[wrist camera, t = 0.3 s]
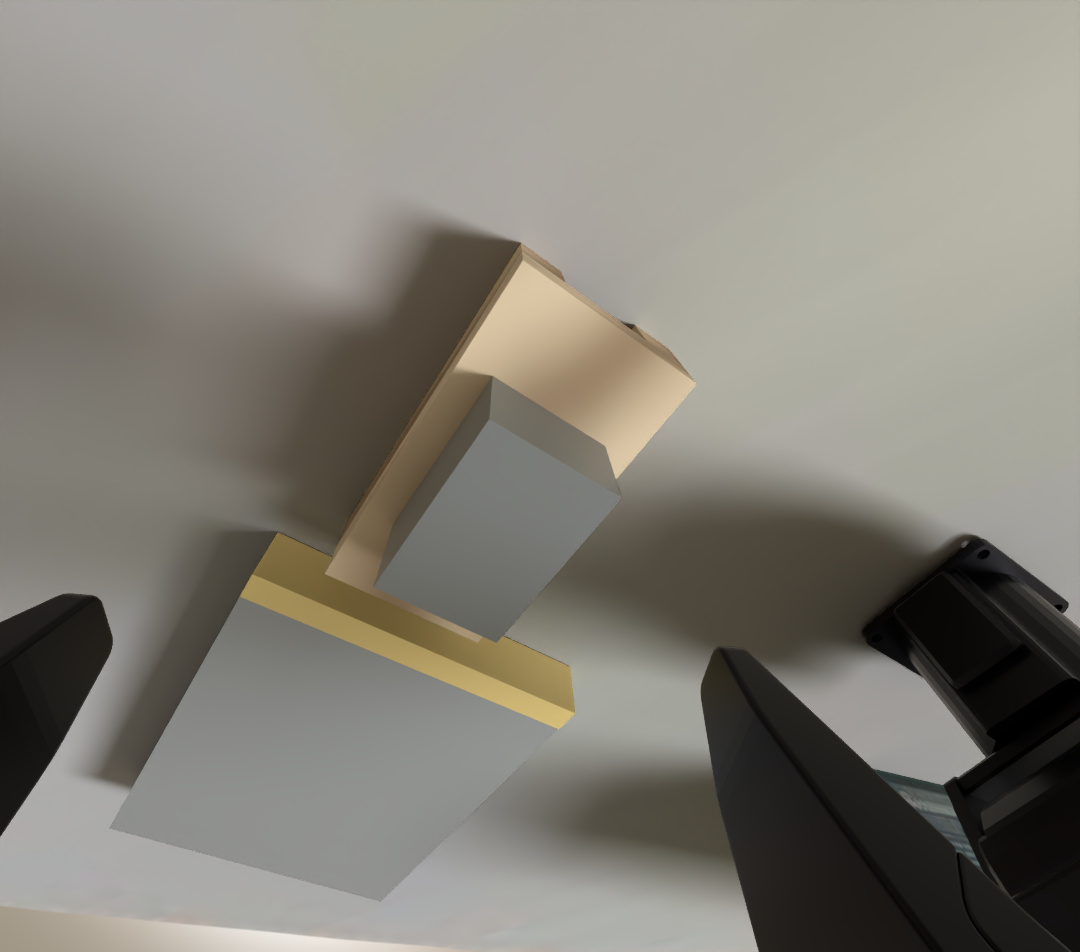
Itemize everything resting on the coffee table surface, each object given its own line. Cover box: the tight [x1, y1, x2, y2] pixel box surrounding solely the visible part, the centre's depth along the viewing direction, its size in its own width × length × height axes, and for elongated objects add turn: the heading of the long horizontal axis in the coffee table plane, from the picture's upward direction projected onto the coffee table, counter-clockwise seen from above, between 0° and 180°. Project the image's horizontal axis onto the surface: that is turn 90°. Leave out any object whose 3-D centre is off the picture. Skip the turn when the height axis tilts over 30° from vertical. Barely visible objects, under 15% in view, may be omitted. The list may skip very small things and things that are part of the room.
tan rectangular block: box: [324, 243, 697, 642], centre depth 19 cm, size 6×12×4 cm, turn 146°
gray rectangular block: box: [373, 376, 622, 643], centre depth 17 cm, size 4×6×3 cm, turn 145°
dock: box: [110, 532, 575, 901], centre depth 27 cm, size 14×18×2 cm
